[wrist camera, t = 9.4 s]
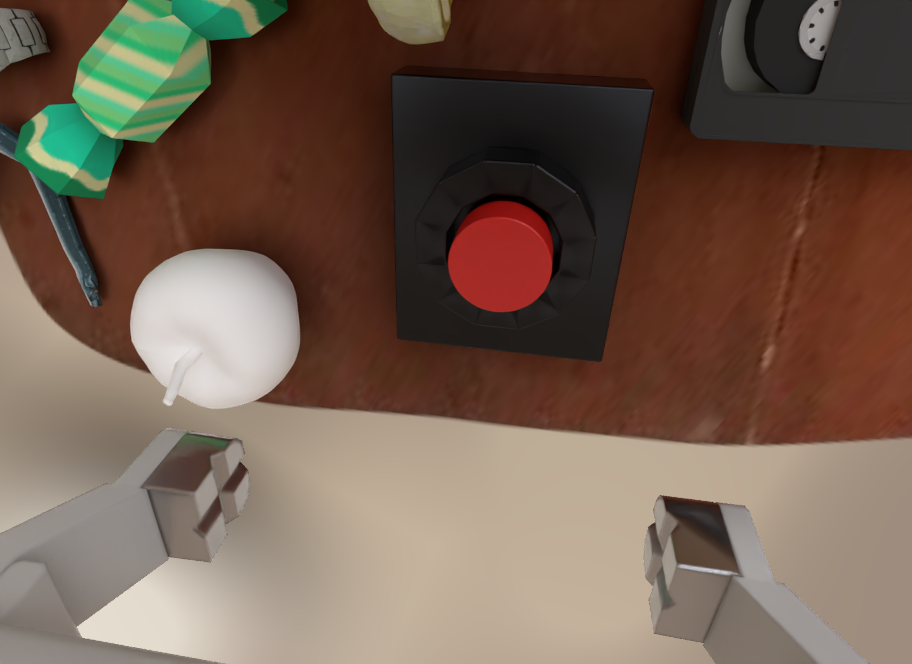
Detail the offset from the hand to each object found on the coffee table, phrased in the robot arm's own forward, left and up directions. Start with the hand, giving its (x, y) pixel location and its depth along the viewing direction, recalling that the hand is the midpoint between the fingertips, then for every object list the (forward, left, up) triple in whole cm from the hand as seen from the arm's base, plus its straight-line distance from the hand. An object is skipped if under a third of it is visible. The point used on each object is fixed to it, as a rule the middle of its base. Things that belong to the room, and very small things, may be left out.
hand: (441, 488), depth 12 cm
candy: (-5, -14, -16) cm, 22 cm away
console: (0, 0, -16) cm, 16 cm away
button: (0, 0, -12) cm, 12 cm away
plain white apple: (+5, -12, -16) cm, 20 cm away
